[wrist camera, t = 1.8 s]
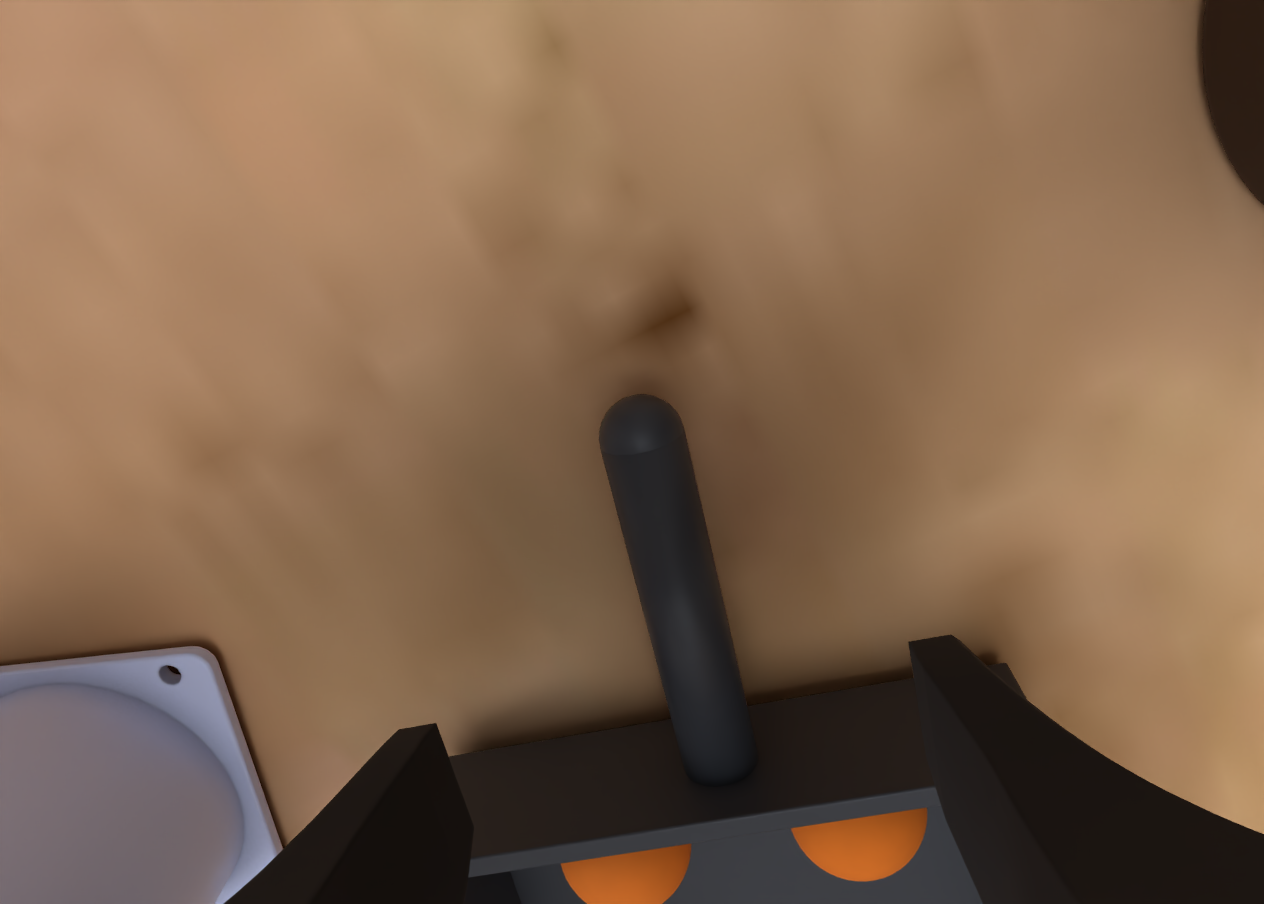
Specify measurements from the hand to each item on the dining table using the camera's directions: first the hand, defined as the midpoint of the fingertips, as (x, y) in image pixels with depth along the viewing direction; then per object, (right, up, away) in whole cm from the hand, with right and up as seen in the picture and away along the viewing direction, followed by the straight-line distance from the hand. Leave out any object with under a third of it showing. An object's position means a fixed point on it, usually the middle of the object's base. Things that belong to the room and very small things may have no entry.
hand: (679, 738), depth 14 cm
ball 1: (-1, -4, +7) cm, 9 cm away
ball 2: (+4, -3, +7) cm, 9 cm away
